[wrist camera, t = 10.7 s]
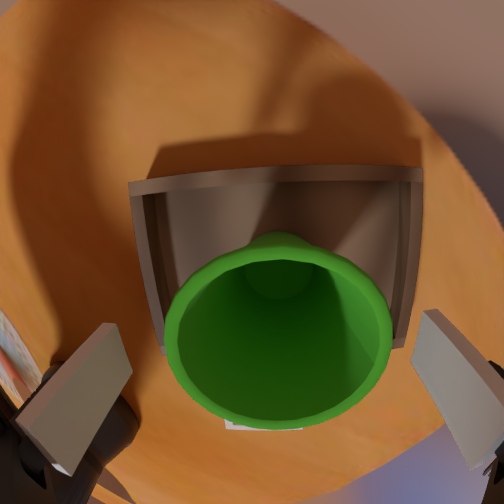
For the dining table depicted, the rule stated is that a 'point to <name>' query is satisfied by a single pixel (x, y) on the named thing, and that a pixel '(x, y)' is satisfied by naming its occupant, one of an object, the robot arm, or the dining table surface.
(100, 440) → the robot arm
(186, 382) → the cup
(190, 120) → the dining table surface
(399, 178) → the tray
